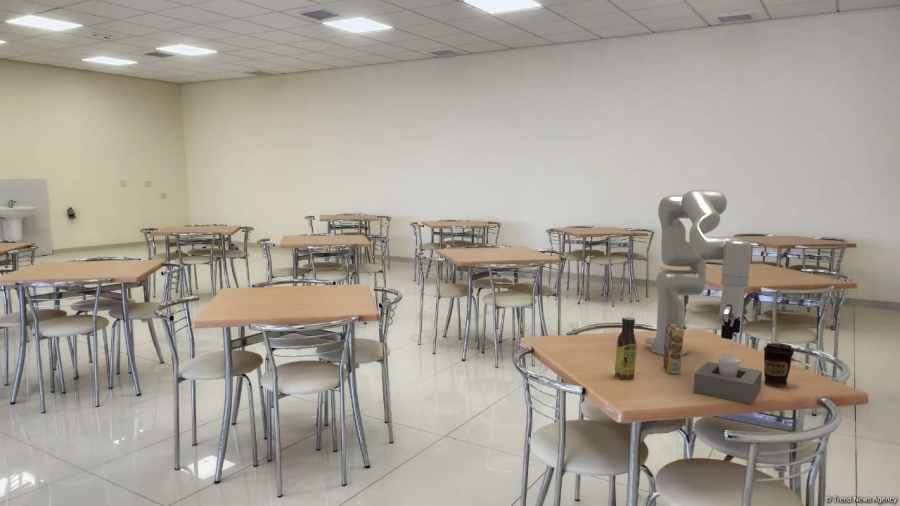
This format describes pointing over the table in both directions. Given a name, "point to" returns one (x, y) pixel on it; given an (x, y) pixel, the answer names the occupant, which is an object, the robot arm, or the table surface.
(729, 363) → the smoothie
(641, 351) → the table surface
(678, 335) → the candy box
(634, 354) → the sauce bottle
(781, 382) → the coffee cup
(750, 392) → the well block
